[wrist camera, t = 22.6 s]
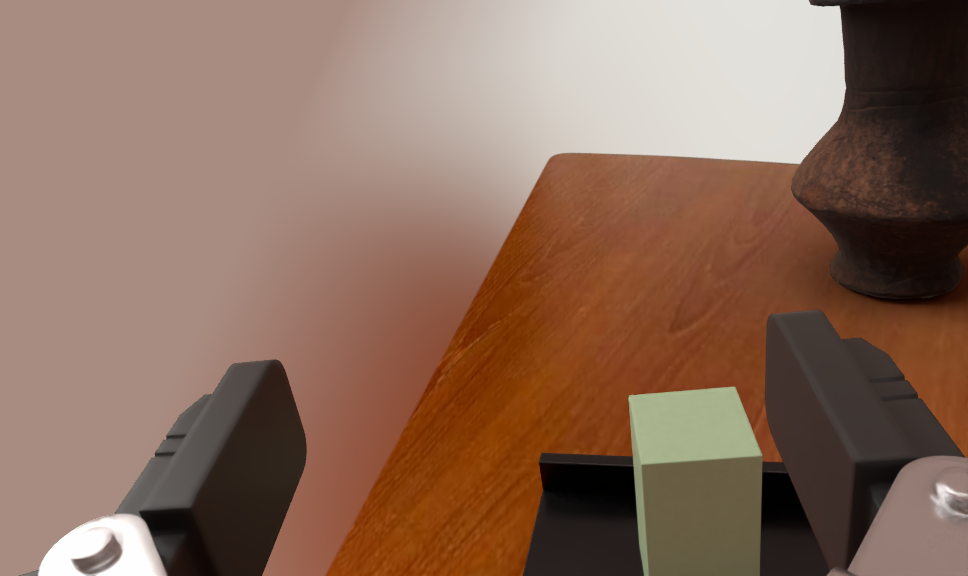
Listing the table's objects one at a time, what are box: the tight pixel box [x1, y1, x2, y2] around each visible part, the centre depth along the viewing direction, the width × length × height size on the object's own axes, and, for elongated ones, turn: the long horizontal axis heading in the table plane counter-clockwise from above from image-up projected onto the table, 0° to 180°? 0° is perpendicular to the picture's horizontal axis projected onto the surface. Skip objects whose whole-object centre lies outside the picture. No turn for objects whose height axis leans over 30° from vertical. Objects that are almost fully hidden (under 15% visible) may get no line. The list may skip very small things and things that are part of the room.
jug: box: [791, 0, 968, 299], centre depth 66 cm, size 21×18×30 cm
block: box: [629, 387, 763, 576], centre depth 34 cm, size 5×5×9 cm
